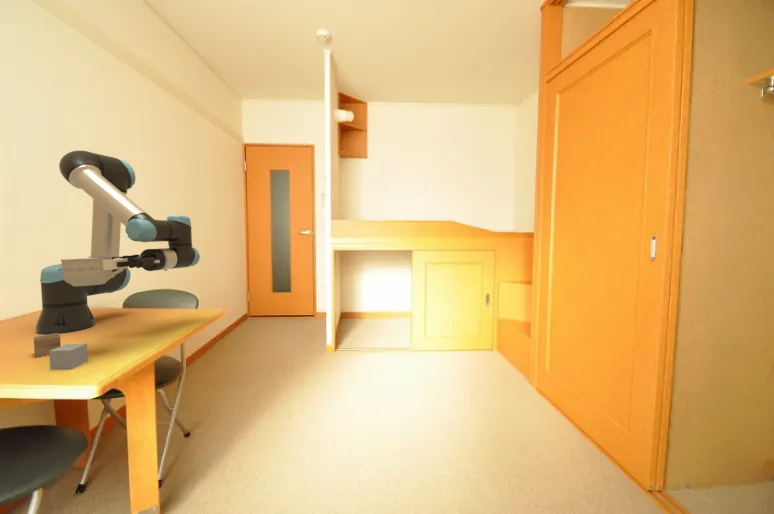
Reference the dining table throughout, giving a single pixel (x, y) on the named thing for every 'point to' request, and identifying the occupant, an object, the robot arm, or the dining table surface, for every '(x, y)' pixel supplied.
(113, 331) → the dining table surface
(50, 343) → the walnut block
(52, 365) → the slate block
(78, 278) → the teacup
